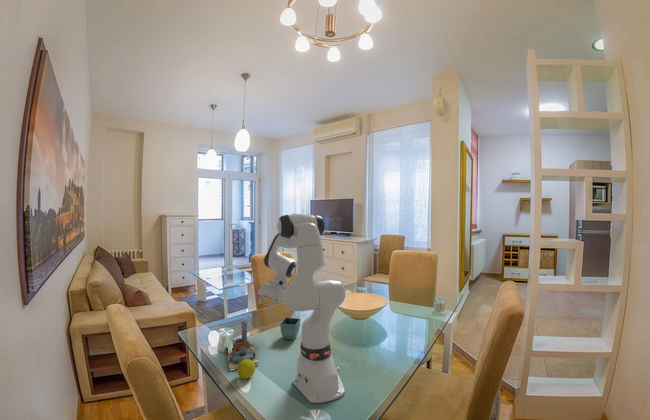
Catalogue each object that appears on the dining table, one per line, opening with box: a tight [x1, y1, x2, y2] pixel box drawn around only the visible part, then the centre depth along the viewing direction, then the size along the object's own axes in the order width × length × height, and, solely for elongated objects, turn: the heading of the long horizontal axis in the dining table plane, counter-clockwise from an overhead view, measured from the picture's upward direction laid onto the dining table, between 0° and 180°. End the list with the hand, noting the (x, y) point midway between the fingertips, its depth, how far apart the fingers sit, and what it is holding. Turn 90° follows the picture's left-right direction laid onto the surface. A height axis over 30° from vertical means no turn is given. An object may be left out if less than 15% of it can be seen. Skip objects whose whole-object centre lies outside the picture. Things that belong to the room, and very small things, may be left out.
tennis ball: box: [236, 359, 256, 380], centre depth 119 cm, size 7×7×7 cm
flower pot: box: [279, 317, 301, 341], centre depth 154 cm, size 9×9×9 cm
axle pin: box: [240, 320, 248, 340], centre depth 151 cm, size 3×3×10 cm
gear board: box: [227, 337, 259, 370], centre depth 135 cm, size 22×12×6 cm, turn 22°
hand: (264, 305), depth 160 cm, fingers open, 8 cm apart
